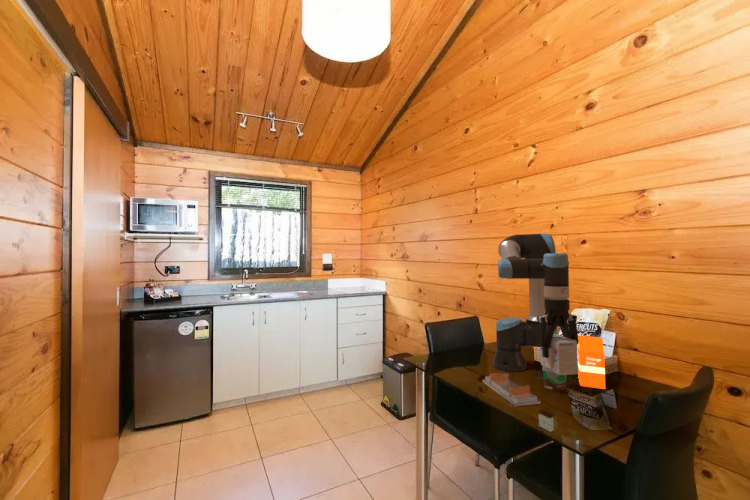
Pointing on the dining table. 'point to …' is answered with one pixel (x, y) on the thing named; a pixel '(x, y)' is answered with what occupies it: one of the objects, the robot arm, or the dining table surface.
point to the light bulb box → (562, 355)
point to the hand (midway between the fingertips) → (558, 366)
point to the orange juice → (591, 362)
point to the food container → (554, 380)
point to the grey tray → (511, 390)
